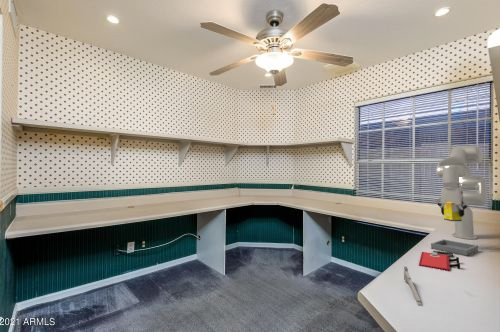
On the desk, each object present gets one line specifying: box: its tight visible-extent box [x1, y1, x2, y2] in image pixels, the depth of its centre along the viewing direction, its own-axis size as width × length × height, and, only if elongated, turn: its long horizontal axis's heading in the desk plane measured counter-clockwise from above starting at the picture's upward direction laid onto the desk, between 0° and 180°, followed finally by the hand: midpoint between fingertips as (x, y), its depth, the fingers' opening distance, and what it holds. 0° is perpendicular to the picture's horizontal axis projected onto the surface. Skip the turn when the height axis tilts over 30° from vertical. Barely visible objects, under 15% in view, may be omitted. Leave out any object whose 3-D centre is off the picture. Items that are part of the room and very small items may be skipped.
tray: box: [430, 239, 479, 257], centre depth 136 cm, size 16×16×3 cm
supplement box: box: [443, 202, 462, 222], centre depth 142 cm, size 6×6×11 cm
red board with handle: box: [418, 250, 461, 272], centre depth 120 cm, size 30×3×15 cm
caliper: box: [403, 266, 422, 306], centre depth 88 cm, size 20×1×6 cm, turn 158°
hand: (452, 215), depth 141 cm, fingers closed on supplement box, 7 cm apart
